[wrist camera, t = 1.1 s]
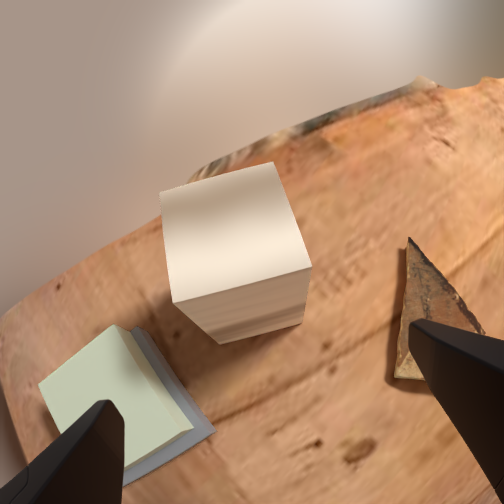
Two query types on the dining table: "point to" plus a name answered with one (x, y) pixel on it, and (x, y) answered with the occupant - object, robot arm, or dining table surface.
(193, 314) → the maple column
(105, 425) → the robot arm
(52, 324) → the dining table surface
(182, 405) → the tower bottom slab
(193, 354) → the dining table surface
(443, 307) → the shard
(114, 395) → the tower top slab
